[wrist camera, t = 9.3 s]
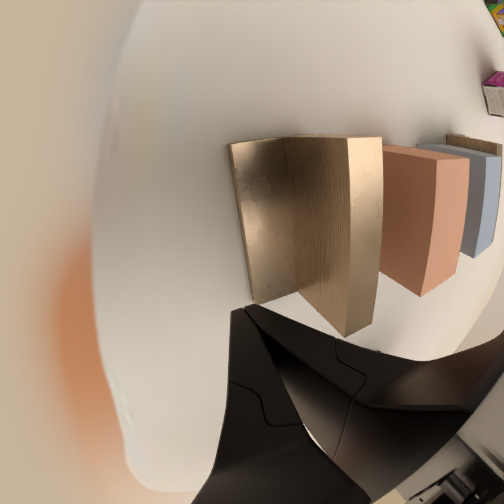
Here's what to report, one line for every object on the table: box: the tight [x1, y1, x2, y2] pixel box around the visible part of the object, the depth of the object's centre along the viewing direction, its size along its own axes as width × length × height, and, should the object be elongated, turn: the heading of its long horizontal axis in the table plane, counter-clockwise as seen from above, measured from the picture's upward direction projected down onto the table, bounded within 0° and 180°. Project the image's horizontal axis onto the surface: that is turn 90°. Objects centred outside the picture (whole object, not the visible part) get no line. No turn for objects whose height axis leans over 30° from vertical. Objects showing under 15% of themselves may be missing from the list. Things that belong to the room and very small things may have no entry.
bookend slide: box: [228, 134, 383, 338], centre depth 14 cm, size 10×5×6 cm, turn 6°
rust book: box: [379, 145, 470, 297], centre depth 16 cm, size 8×4×7 cm, turn 6°
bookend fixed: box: [447, 134, 502, 242], centre depth 20 cm, size 10×5×6 cm, turn 6°
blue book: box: [417, 144, 501, 258], centre depth 18 cm, size 8×4×7 cm, turn 6°
